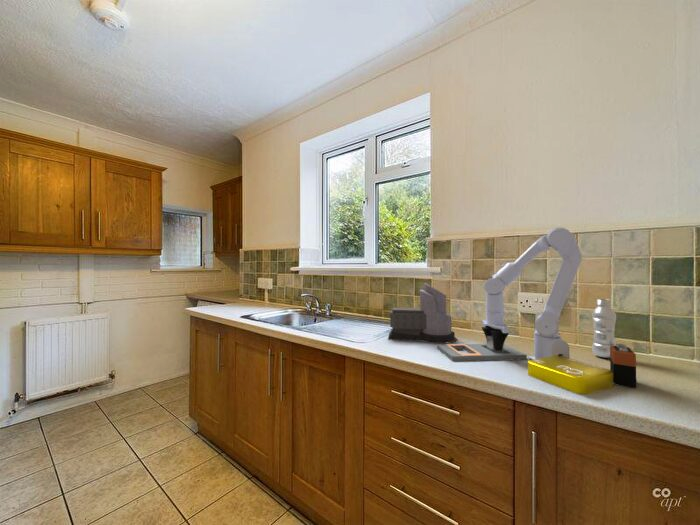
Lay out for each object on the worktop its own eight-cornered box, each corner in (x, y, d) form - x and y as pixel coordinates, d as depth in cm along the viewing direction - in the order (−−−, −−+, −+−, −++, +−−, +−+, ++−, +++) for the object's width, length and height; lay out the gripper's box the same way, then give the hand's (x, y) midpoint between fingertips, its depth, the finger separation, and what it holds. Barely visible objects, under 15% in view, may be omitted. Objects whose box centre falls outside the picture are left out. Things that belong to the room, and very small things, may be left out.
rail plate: (526, 359, 95) (526, 354, 96) (452, 360, 94) (452, 355, 94) (502, 347, 109) (502, 342, 109) (437, 348, 108) (437, 344, 108)
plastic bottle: (609, 355, 99) (608, 298, 100) (622, 361, 93) (621, 301, 93) (587, 353, 101) (587, 298, 101) (598, 359, 95) (598, 300, 95)
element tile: (617, 387, 74) (617, 369, 74) (582, 397, 69) (581, 377, 69) (557, 368, 88) (557, 353, 88) (524, 375, 83) (524, 358, 83)
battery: (631, 380, 78) (630, 344, 78) (637, 389, 72) (636, 350, 72) (610, 376, 80) (609, 341, 80) (613, 384, 75) (613, 347, 75)
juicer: (454, 334, 130) (453, 282, 130) (461, 344, 114) (460, 284, 115) (389, 332, 136) (388, 281, 136) (387, 341, 120) (387, 283, 120)
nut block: (503, 354, 100) (503, 338, 100) (492, 355, 100) (492, 338, 100) (497, 351, 104) (497, 335, 104) (486, 351, 104) (486, 335, 104)
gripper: (474, 308, 109) (474, 343, 109) (495, 314, 95) (495, 355, 95) (491, 308, 110) (491, 342, 110) (515, 314, 95) (515, 354, 95)
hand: (494, 348), depth 102 cm, fingers closed on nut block, 4 cm apart
